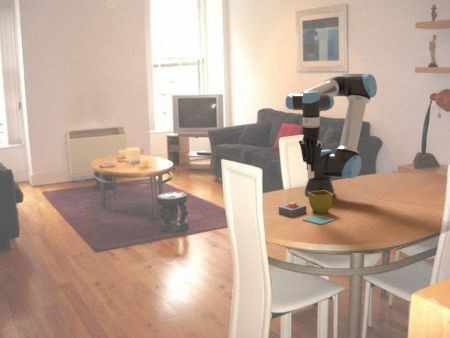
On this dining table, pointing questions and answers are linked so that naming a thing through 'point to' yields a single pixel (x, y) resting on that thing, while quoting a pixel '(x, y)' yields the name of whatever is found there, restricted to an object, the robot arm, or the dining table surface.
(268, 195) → the dining table surface
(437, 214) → the dining table surface
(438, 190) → the dining table surface
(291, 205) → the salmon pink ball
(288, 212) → the housing
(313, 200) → the flower pot
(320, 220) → the pad
